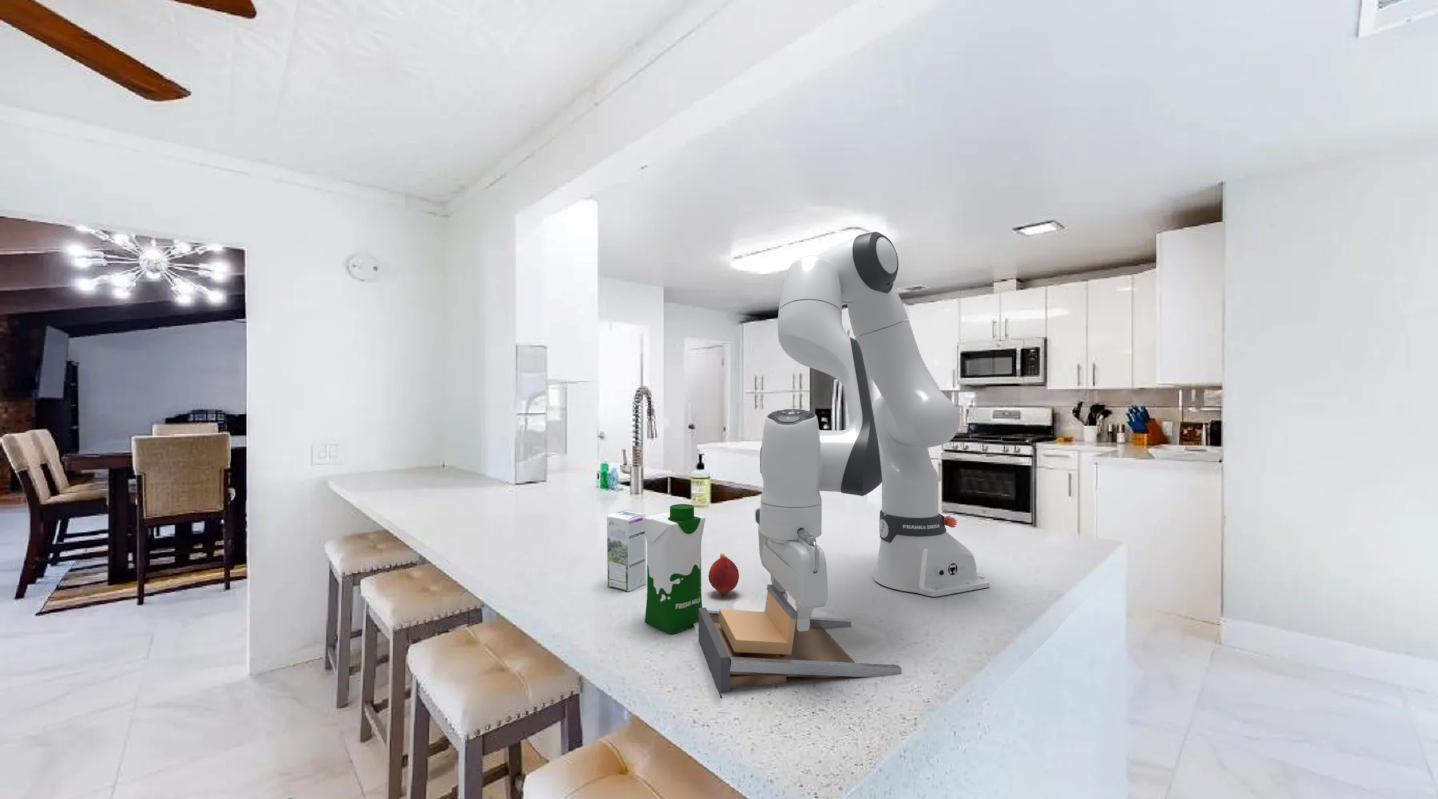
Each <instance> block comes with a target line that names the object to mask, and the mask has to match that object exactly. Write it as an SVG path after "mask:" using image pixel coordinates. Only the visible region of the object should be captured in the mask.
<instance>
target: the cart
mask: <svg viewBox="0 0 1438 799" xmlns="http://www.w3.org/2000/svg"><path fill="white" fill-rule="evenodd" d="M766 585H767V586H766V590H767V593H766V599H765V600H766V601H765V607H764V611H758V610H757V611H755V610H739V609H726V608H725V609H722V608H719V609H718V611H719V617H718V620H719V622H720V624H721V628H722V629H723V630H724V632H725V634H726V636H727V638H728V640H729V642H730V644H731V646H732V648H733V650H734V653H735V654H736V655H740V654H741V653H742V652H747V653H767V654H779V656H780V657H785V656H786V655H787V654H788V655H791V653H792V646H793V638H794V631H795V623H796V619H797V618H798V614H797V612H796V611H797V609H795V608H794V607H793V606H792V604H791V603H790V602H789V601H788V599H787V600H786V599H785V598H784V597H783V595H782V594H781V593H780V592H779V591H778V590H777V589H776V588H775V586H773V585H772V584H769V583H767V584H766Z"/></svg>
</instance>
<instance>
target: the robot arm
mask: <svg viewBox="0 0 1438 799" xmlns="http://www.w3.org/2000/svg"><path fill="white" fill-rule="evenodd" d="M899 266H900V265H899V256H898V253H897V250H896V248H895V246H894V244H893V242H892V241H891V240H890V239H889V238H888V237H887V236H885V235H884V234H882V233H881V232H879V231H870V232H866V233H861V234H858V235H856V237H854V238H851V239H848V240H845V241H842V242H839V243H837V244H834V245H832V246H830V247H828V248H827V249H826V250H824V251H823V252H820V253H819V254H817V255H806V256H802V257H800V258H798V259H796V260H795V261H794V262H792V263H791V265H790V266H789V267H788V269H787V272H786V274H785V278H784V282H783V285H782V289H781V293H780V299H779V306H778V314H777V315H778V316H777V338H778V342H779V345H780V347H781V349H782V350H783V351H784V352H785V354H787V356H788V357H790V358H791V359H792V360H794V361H796V362H797V363H799V364H801V365H803V366H804V367H807V368H810V369H813V370H816V371H819V372H822V373H824V374H827V375H828V376H831V377H833V378H835V379H836V380H837V381H839V382H840V383H841V384H842V386H843V390H844V395H845V402H846V409H847V414H848V421H849V427H847V428H846V429H843V430H839V429H838V430H832V429H831V430H830V429H828V430H827V429H826V430H825V429H824V430H823V429H822V430H821V429H820V427H819V420H818V416H817V414H816V413H814V412H812V411H810V410H806V409H801V408H797V409H796V408H787V409H786V408H785V409H781V410H775V411H772V412H771V413H769V414H767V415H766V417H765V420H764V425H763V430H762V431H763V432H762V439H761V447H760V452H759V453H760V454H759V470H760V474H761V477H762V484H763V487H762V490H761V491H762V492H761V494H760V507H758V508H756V509H755V510H754V520H755V523H757V526H758V528H757V529H758V532H757V533H758V535H757V536H758V550H759V552H758V553H759V558H760V562H761V565H762V567H763V568H764V569H765V570H766V571H767V572H768V574H770V582H771V585H773V586H775V588H776V589H777V590H778V591H779V592H780V593H781V594H782V595H783V597H784V598H785V599H786V600H787V601H788V595H789V596H791V599H793V600H794V601H795V607H796V612H797V614H798V618H797V619H796V623H795V627H796V629H797V630H798V631H808V630H809V628H810V617H812V614H813V611H814V609H817V608H823V607H825V606H826V604H827V602H828V598H829V588H828V586H829V583H828V572H827V571H828V569H827V567H828V566H827V560H826V555H825V552H824V550H823V548H822V547H821V546H820V545H818V544H817V538H819V537H820V536H821V535H822V526H823V525H822V514H823V513H822V506H823V505H822V501H823V500H822V495H821V493H820V492H830V493H831V492H832V493H834V492H835V493H841V494H844V495H846V494H847V495H853V496H860V497H864V496H866V495H868V494H870V493H871V492H873V491H874V490H875V489H877V488H878V487H879V486H880V485H881V510H880V511H879V521H878V522H879V526H878V528H879V530H878V531H879V538H880V542H879V552H878V558H877V561H876V565H875V566H876V567H875V570H874V573H873V576H872V577H873V578H872V579H873V580H874V581H875V582H877V583H878V584H880V585H881V586H884V587H887V588H890V589H892V590H893V589H894V590H897V591H902V592H909V593H916V594H920V595H924V596H929V597H933V598H934V597H935V598H936V597H942V596H947V595H952V594H953V595H954V594H959V593H964V592H969V591H973V590H981V589H985V588H986V589H987V588H989V587H990V581H989V579H988V578H987V577H986V576H984V575H983V574H981V573H980V572H978V571H977V564H976V560H975V556H974V554H973V553H972V551H971V550H970V549H969V548H967V546H965V545H963V544H962V543H961V542H960V541H959V540H957V539H956V538H955V537H954V536H952V535H951V534H950V533H948V532H947V531H948V529H947V528H946V527H949V528H951V529H953V528H955V527H956V526H957V525H958V520H957V519H956V518H955V517H951V516H949V515H948V516H944V515H943V514H941V513H940V512H939V488H940V486H939V479H940V478H939V475H938V471H937V470H936V468H935V467H934V465H933V462H932V460H931V459H932V458H931V455H930V452H929V448H934V447H938V446H942V445H945V444H947V443H949V442H950V441H952V440H953V439H954V437H955V436H956V435H957V432H958V431H959V428H960V423H961V422H960V421H961V419H960V413H959V411H958V408H957V406H956V405H955V403H954V402H953V401H952V400H950V399H949V398H948V397H947V396H946V395H945V394H944V393H943V391H942V390H941V388H940V387H939V385H938V383H937V382H936V380H935V378H934V377H933V375H932V373H931V372H930V370H929V369H928V367H927V365H926V363H925V362H924V360H923V358H922V354H921V353H920V350H919V348H918V345H917V341H916V338H915V334H914V332H913V329H912V327H911V322H910V320H909V317H908V314H907V311H906V309H905V305H904V304H903V302H902V299H901V297H900V295H899V293H898V291H897V289H896V287H895V285H894V283H895V281H896V279H897V276H898V273H899V272H898V271H899ZM844 305H847V312H848V317H849V322H850V327H851V330H852V334H853V336H854V338H853V337H852V336H849V334H847V332H846V330H845V328H844V326H843V319H842V318H843V306H844ZM868 377H869V378H870V380H871V381H873V383H874V385H875V386H876V388H877V389H878V391H879V393H880V395H881V396H879V397H878V398H876V399H875V400H874V401H872V397H871V391H870V385H869V378H868Z"/></svg>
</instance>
